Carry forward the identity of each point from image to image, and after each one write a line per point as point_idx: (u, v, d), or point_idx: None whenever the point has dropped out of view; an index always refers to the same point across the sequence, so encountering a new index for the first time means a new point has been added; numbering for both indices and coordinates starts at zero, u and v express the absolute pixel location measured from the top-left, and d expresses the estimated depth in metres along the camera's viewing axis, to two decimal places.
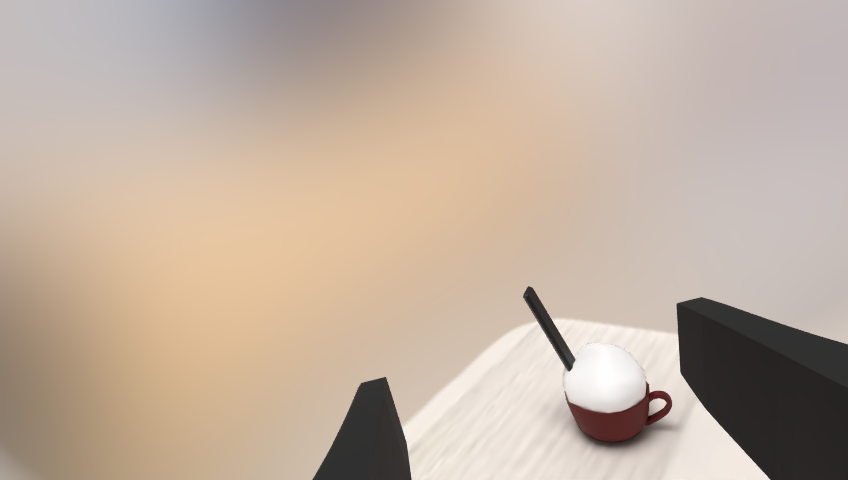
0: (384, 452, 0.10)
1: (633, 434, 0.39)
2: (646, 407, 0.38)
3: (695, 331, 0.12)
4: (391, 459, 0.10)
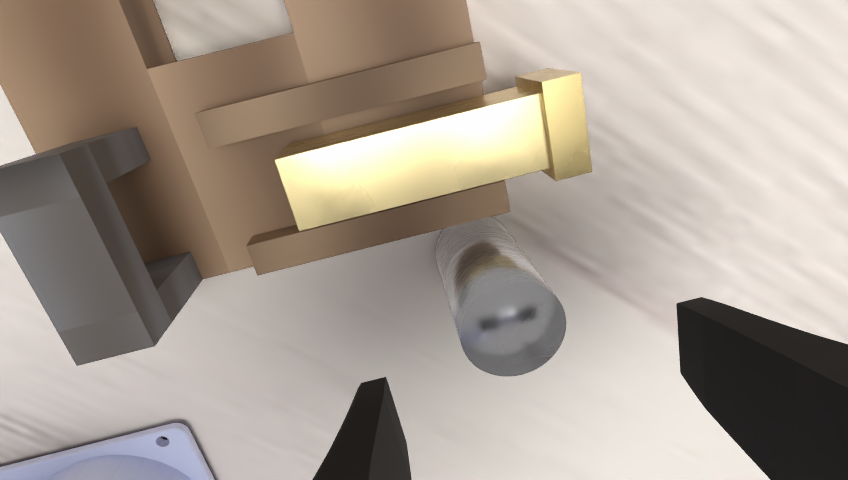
0: (384, 452, 0.10)
1: None
2: None
3: (695, 331, 0.12)
4: (391, 459, 0.10)
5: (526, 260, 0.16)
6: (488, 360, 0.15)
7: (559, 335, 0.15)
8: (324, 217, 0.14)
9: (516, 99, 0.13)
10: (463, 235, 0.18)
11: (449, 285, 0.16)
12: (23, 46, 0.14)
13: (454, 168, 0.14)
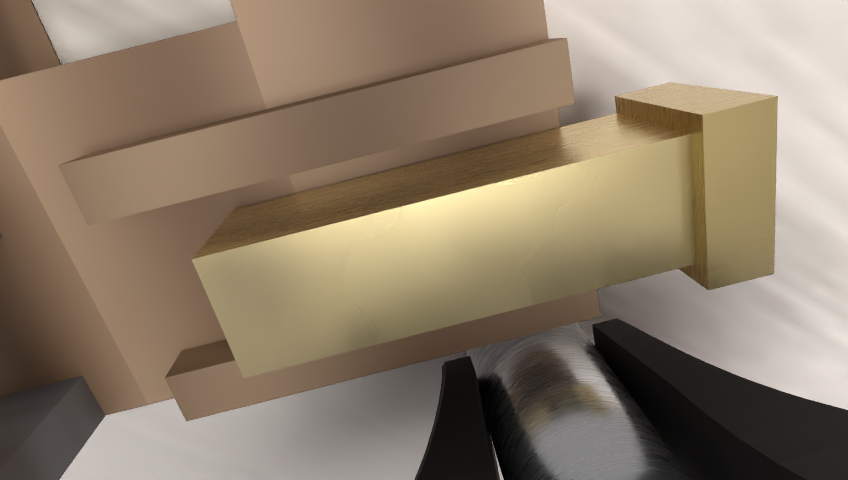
0: (485, 426, 0.10)
1: None
2: None
3: (607, 353, 0.12)
4: (488, 435, 0.11)
5: (626, 395, 0.10)
6: None
7: None
8: (288, 355, 0.08)
9: (645, 145, 0.07)
10: None
11: (498, 430, 0.10)
12: None
13: (524, 268, 0.08)
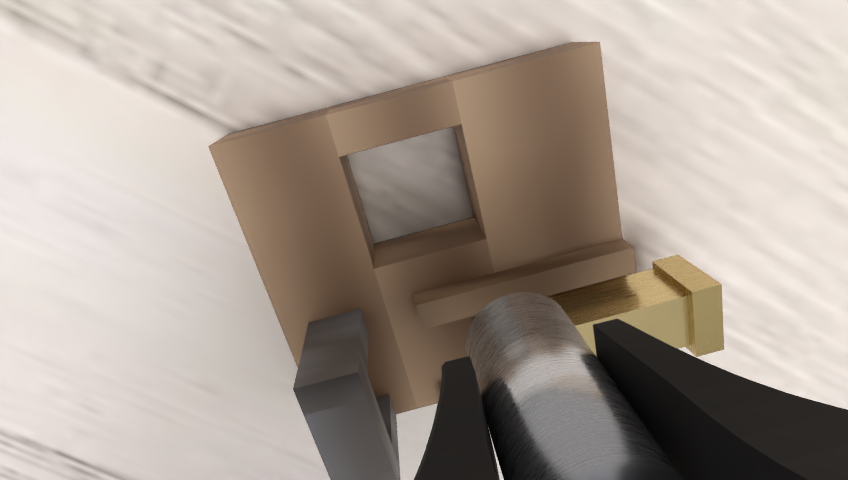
0: (485, 427, 0.10)
1: None
2: None
3: (607, 353, 0.12)
4: (487, 435, 0.11)
5: (604, 385, 0.10)
6: None
7: None
8: None
9: (669, 300, 0.18)
10: (500, 340, 0.12)
11: (493, 434, 0.11)
12: (285, 257, 0.18)
13: None
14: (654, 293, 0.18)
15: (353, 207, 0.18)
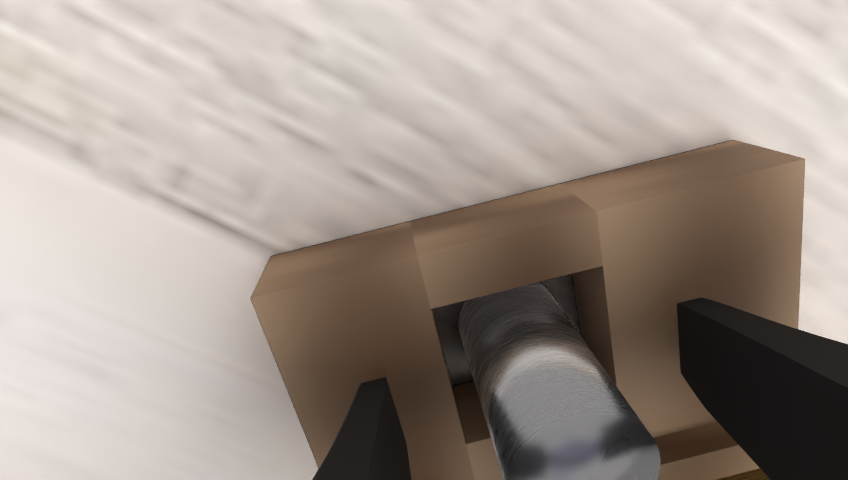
0: (384, 452, 0.10)
1: None
2: None
3: (695, 331, 0.12)
4: (391, 459, 0.10)
5: (580, 353, 0.11)
6: None
7: (652, 469, 0.10)
8: None
9: None
10: (488, 319, 0.13)
11: (482, 402, 0.12)
12: None
13: None
14: None
15: (445, 371, 0.13)
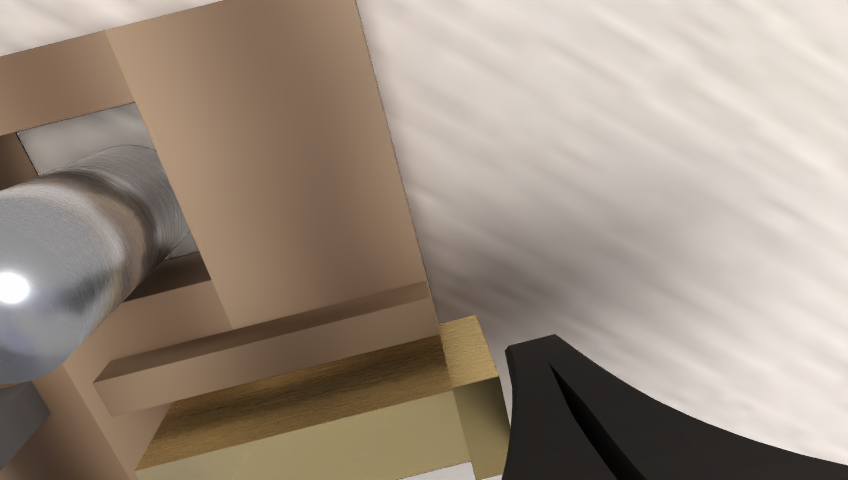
0: None
1: None
2: None
3: None
4: None
5: (70, 188, 0.10)
6: None
7: (70, 297, 0.08)
8: None
9: (424, 397, 0.11)
10: None
11: None
12: None
13: (355, 467, 0.12)
14: (413, 381, 0.12)
15: None
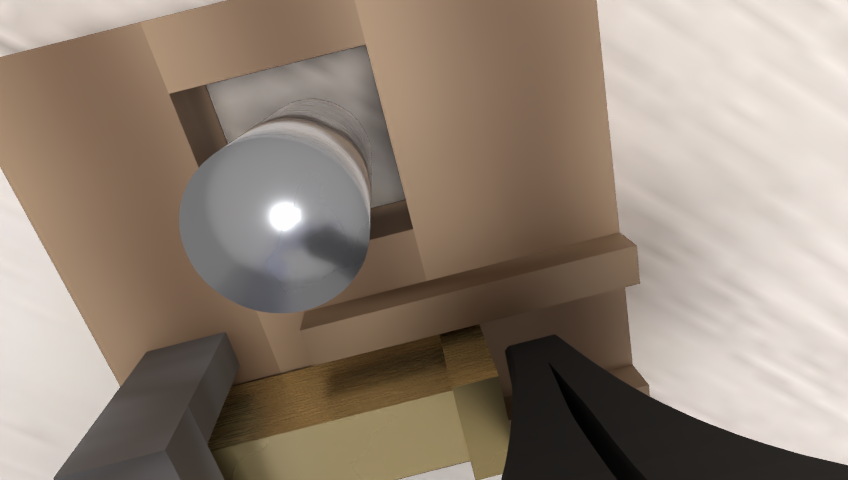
0: None
1: None
2: None
3: None
4: None
5: (320, 125, 0.10)
6: (256, 291, 0.09)
7: (361, 224, 0.09)
8: None
9: (424, 397, 0.11)
10: None
11: None
12: (98, 254, 0.12)
13: (354, 467, 0.12)
14: (413, 381, 0.12)
15: None
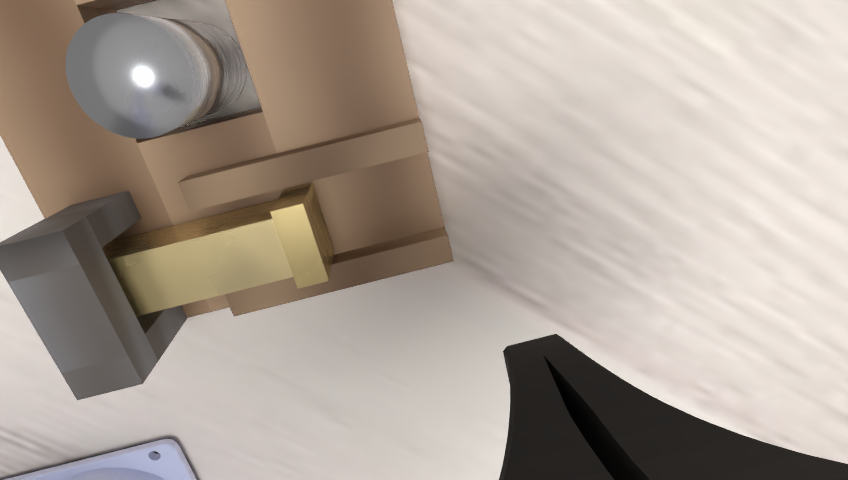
0: None
1: None
2: None
3: None
4: None
5: (175, 22, 0.15)
6: (120, 121, 0.13)
7: (186, 75, 0.13)
8: None
9: (255, 223, 0.16)
10: None
11: None
12: (31, 126, 0.16)
13: (210, 278, 0.16)
14: (253, 217, 0.16)
15: None
